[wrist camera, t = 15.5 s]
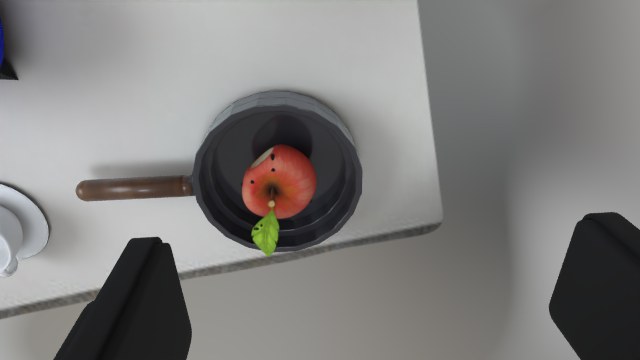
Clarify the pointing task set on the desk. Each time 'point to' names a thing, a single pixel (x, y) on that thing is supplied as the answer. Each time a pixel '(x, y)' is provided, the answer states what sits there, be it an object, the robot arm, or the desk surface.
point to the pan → (254, 140)
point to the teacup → (19, 229)
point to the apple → (277, 191)
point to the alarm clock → (4, 61)
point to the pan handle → (135, 188)
